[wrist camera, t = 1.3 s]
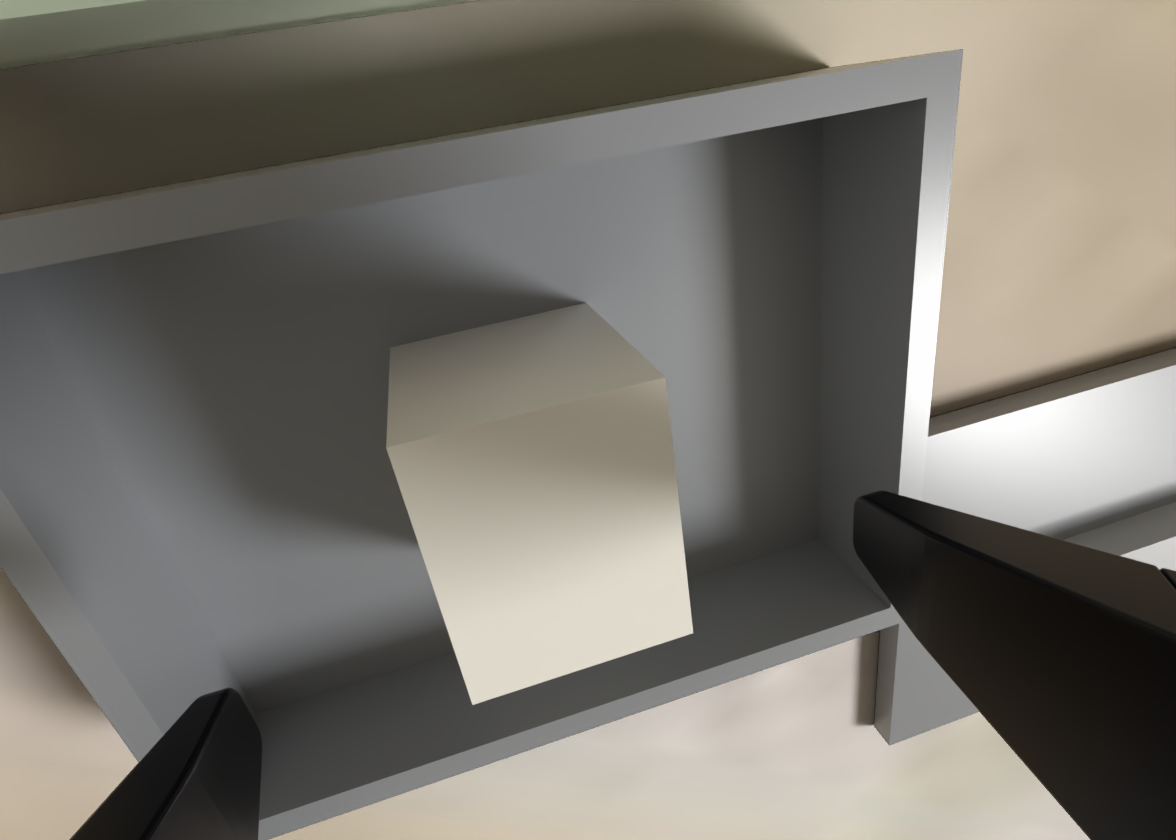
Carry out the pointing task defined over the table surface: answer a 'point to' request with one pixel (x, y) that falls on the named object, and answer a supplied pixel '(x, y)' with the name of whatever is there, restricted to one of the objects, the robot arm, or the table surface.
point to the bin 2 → (439, 307)
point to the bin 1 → (160, 22)
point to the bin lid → (1044, 497)
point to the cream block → (540, 495)
